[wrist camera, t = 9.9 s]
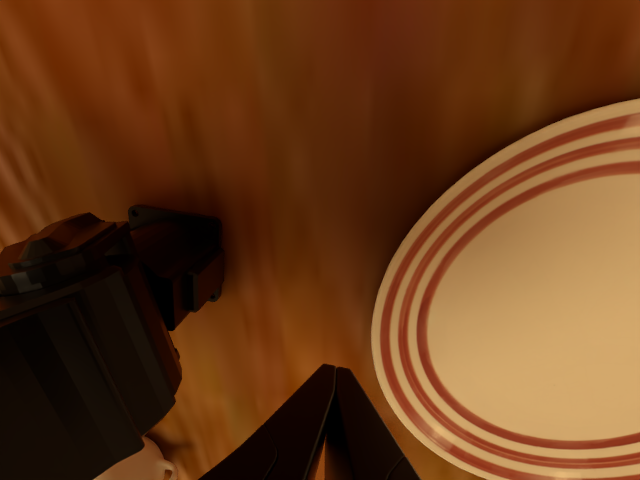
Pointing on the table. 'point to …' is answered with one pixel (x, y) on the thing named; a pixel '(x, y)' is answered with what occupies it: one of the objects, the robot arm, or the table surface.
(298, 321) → the table surface
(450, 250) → the dinner plate
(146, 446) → the teacup
